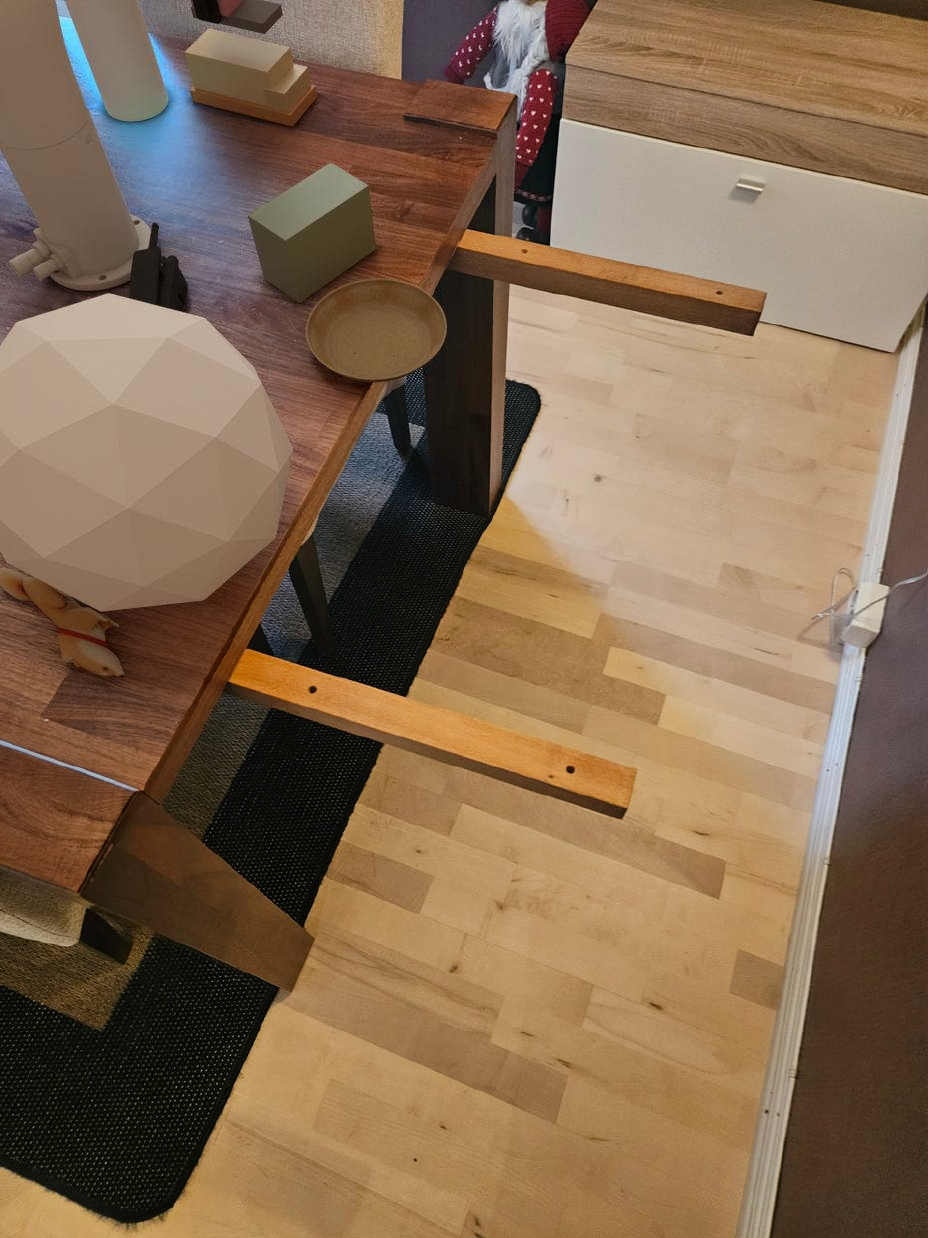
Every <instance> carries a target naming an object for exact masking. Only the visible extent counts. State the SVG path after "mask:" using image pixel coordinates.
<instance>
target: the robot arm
mask: <svg viewBox="0 0 928 1238" xmlns="http://www.w3.org/2000/svg"><path fill="white" fill-rule="evenodd" d="M192 1H193V5H194V9H195V13H196V16H197V18H198V19H197V18H196V19H197V20H199V21H201V22H207V23H211V24H214V25H220V24H219V23H220V22H221V21H222V19H221V15H220V11H219V7H218V2H217V0H192ZM59 15H60V14H59V11H58V4H57V0H0V152H1V154H2V156H3V158H4V160H5V163H7V166H8V167H9V169H10V171H11V173H12V175H13V177H14V179H15V182H16V183H17V185H18V187H19V188H20V191H21V193H22V195H23V197H24V199H25V201H26V203H27V205H28V206H29V209H30V211H31V213H32V215H33V217H34V218H35V221H36V222H37V224H38V227H37V228H35V229H33V230H32V232H33V234H34V237H35V239H36V241H35V242H33V243H31V244H30V245H31V249H29V250H27V251H25V252H22V253H20V254H18V255H17V256H15V257H13V258H12V259H10V260H8V265H9V267H10V269H12V271H13V273H14V274H15V275H16V276H18V278H20V279H22V278H24V277H25V276H27V275H28V274H29V273H32V272H33V274H34V275H35V276H36V277H37V279H38V280H39V281H43V280H44V279H47V278H48V277H50V279H52V280H53V281H54V282H55V283H57V284H59V286H63V287H65V288H68V289H72V290H76V291H86V292H92V291H95V292H96V291H103V290H109V289H113V288H116V287H118V286H121V285H123V284H126V283H128V282H130V276H131V266H132V260H133V254H134V252H135V251H138V250H142V249H148V246H149V240H150V234H151V230H152V229H151V228H150V226H149V224H147V223H146V222H145V221H144V220H143V219H141V218H139V217H138V216H136V215H133V214H131V212H130V210H129V208H128V205H127V203H126V200H125V198H124V195H123V192H122V190H121V188H120V186H119V183H118V180H117V177H116V175H115V173H114V169H113V168H112V165H111V163H110V160H109V158H108V156H107V153H106V149H105V148H104V145H103V143H102V140H101V138H100V134H99V132H98V130H97V128H96V125H95V123H94V120H93V117H92V115H91V112H90V110H89V108H88V106H87V103H86V100H85V98H84V95H83V93H82V91H81V88H80V85H79V83H78V80H77V77H76V74H75V72H74V69H73V66H72V63H71V59H70V56H69V54H68V50H67V46H66V43H65V38H64V34H63V30H62V26H61V20H60V16H59Z"/></svg>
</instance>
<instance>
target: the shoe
mask: <svg viewBox="0 0 928 1238" xmlns="http://www.w3.org/2000/svg"><path fill="white" fill-rule="evenodd" d="M184 55H185V59H186V63H187V66H188V69H189V74H190V77H191V80H192V84H193V86H192V87H190V88H189V93H190V94H189V95H190V97H191V101H192V102H193V103H197V104H202V105H206V106H210V107H214V108H218V109H220V110H221V109H222V110H226V111H230V112H234V113H237V114H241V115H246V116H248V117H253V118H256V119H261V120H265V121H269V122H272V123H276V124H281V125H284V126H288V127H292V128H293V127H294V126H295V125H296V124H297V122H298V121H299V120H300V118H301V117H303V115H304V114H305V112H307V110H308V109H309V108H310V107H311V106H312V104H313V103H314V102H315V101H316V99H317V98H318V92H317V86H316V85H313V84H312V83H311V77H310V71H309V66H307V65H301V64H297V63H294V61H293V55H292V49H291V47H290V46H287V45H282V44H280V43H273V42H269V41H265V40H262V39H257V38H254V37H253V38H252V37H248V36H244V35H239V34H236V33H232V32H231V33H230V32H227V31H223V30H219V29H215V28H210V27H208V28H207V29H206V30H205V31H204V32H203V33H202V34H201V35H200V36H199V37H198V38H197V39H196V40H195V41H194V42H193V43H192V44H191V45H190V46H189V47H188V48H187V49H186V50H185V51H184Z"/></svg>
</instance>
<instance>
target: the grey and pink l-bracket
mask: <svg viewBox="0 0 928 1238" xmlns="http://www.w3.org/2000/svg"><path fill="white" fill-rule="evenodd" d="M217 2H218V7H219V11H220V15H221V19H222V21H221V22H220V23H219V24H218V25H223V26H227V27H232V28H236V29H241V30H244V31H248V32H253V33H257V34H261V35H265V34H267V33H268V32H269V31H270V30H271V28H272V27H273V26H274V25H275V24H276V23H277V22H278V21H279V20H280V19H281V18H282V17H283V15H284V14H283V8H282V4H280V3H277V2H272V1H268V0H217ZM190 4H191V6H190V11H191V14H192V18H193V19H197V20H199V19H198V18H197V16H196V13H195V9H194V5H193V1H192V0H190Z"/></svg>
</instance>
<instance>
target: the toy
mask: <svg viewBox="0 0 928 1238" xmlns="http://www.w3.org/2000/svg"><path fill="white" fill-rule="evenodd" d="M0 587H1V588H2V589H3V590H4V591H5V592H6V593H8V594H9V595H10V596H12V597H13V598H15V599H17V600H20V601H25V602H28V601H32V602H33V603H34V604H35V605H36V607H38V608H39V610H40V611H41V612H42V613H44V614H45V615H46V616H47V617H48V618H49V619H50V620H51V621H52V622H53V623H54V625H55V626H56V627H57V628H56V630H57V631H58V635H57V645H58V647H59V650H60V652H61V662H62V663H64V664H67V663H73V665H74V666H75V667H76V668H80V667H81V668H83V669H85V670H86V671H88V672H91V673H93V674H95V675H98V676H101V677H111V676H116V677H117V678H120V679H123V678H125V671H124V668H123V667H122V666H121V665H122V664H121V662H120V660H119V658H118V657H117V656H116V654H115V653H114V652H113V651H112V650H110V649H109V648H110V647H109V645H108V643H107V642H106V635H105V634H106V631H107V630H108V629H109V628H111V627H115V628H120V625H119V623H118V622H116V621H115V620H113V619H112V618H110V617H109V616H107V615H105V614H103V613H100V612H99V611H98V610H96V609H94V608H93V607H89V606H88V605H87V604H85V603H83V602H82V601H80V600H78V599H76V598H74V597H72V596H70V595H68V594H66V593H64V592H62V591H60V590H59V589H57V588H55V587H53V586H51V585H49V584H47V583H45V582H43V581H41V580H39V579H37V578H35V577H34V576H28V575H25V574H24V573H21V572H20V571H17V570H14V569H12V568H8V567H0ZM83 606H87V607H83Z"/></svg>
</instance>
